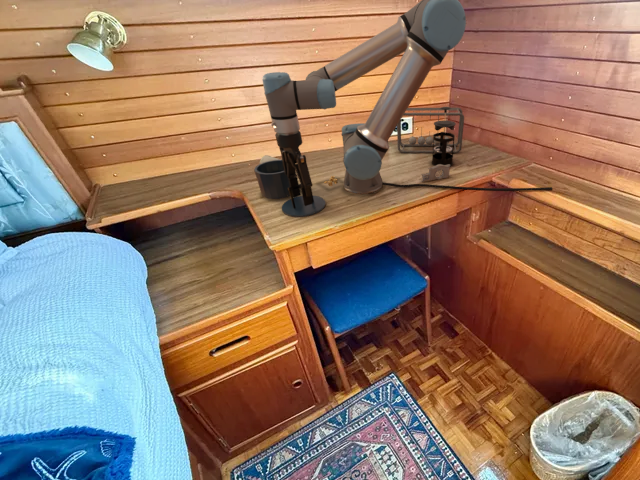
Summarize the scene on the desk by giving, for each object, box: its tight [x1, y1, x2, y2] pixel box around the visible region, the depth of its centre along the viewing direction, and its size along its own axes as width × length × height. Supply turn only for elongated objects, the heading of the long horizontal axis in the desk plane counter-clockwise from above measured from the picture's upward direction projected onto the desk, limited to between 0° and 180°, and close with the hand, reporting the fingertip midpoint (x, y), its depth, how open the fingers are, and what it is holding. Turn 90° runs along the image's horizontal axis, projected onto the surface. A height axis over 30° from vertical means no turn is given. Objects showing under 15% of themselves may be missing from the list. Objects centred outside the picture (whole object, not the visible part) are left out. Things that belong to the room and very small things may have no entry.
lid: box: [281, 183, 327, 218], centre depth 113 cm, size 15×15×9 cm
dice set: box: [324, 175, 339, 187], centre depth 130 cm, size 5×5×2 cm
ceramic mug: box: [258, 154, 281, 165], centre depth 138 cm, size 11×8×8 cm
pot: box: [253, 159, 298, 200], centre depth 123 cm, size 14×14×10 cm
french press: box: [431, 106, 456, 167], centre depth 139 cm, size 12×9×23 cm
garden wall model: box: [421, 164, 451, 183], centre depth 131 cm, size 12×2×6 cm, turn 110°
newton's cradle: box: [396, 107, 465, 154], centre depth 155 cm, size 30×10×18 cm, turn 86°
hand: (302, 200), depth 114 cm, fingers open, 8 cm apart
